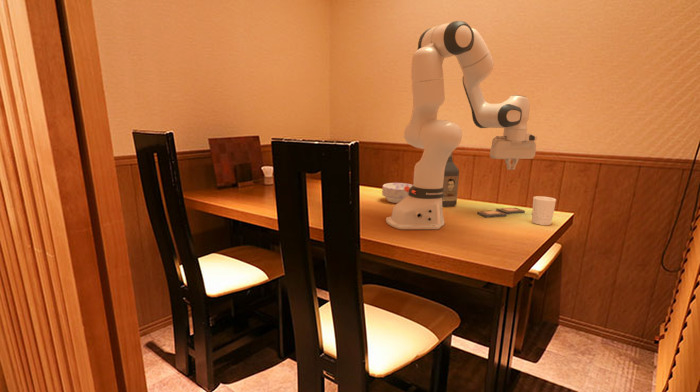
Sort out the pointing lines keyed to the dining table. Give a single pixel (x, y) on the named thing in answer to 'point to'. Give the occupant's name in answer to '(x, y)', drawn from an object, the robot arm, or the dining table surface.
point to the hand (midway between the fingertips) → (510, 169)
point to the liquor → (450, 183)
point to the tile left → (491, 214)
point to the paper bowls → (395, 191)
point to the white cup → (543, 210)
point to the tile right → (510, 210)
